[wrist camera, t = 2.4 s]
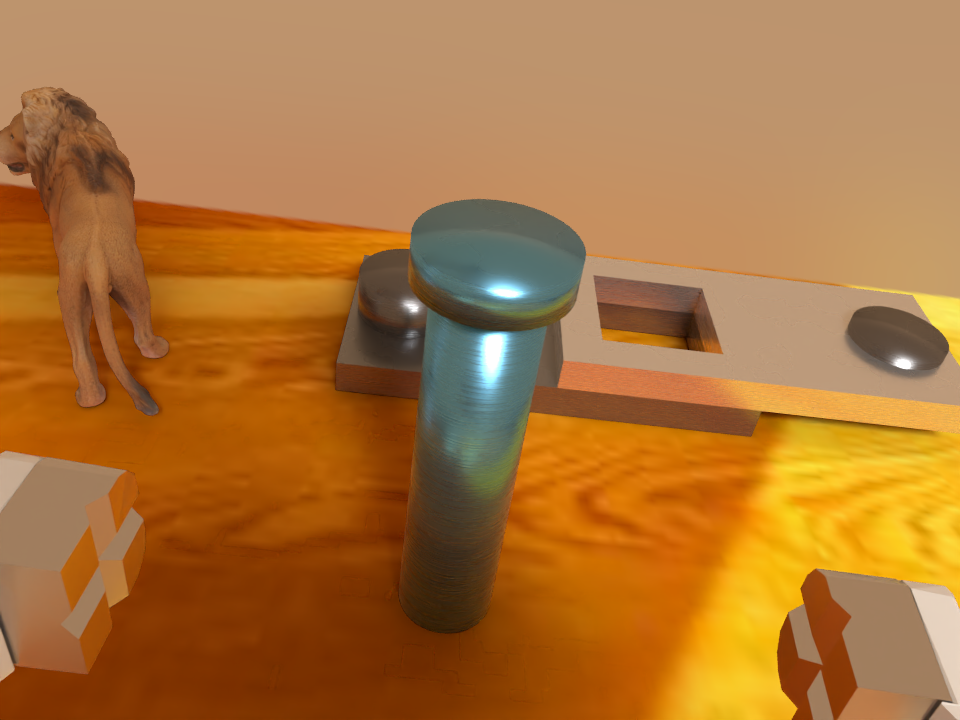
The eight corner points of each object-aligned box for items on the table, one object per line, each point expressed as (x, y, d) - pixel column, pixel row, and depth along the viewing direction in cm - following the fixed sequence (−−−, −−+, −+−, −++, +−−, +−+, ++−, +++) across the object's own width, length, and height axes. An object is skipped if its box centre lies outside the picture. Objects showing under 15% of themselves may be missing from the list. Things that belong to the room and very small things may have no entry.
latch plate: (335, 389, 38) (337, 324, 36) (363, 280, 45) (366, 220, 43) (957, 459, 40) (993, 400, 38) (888, 342, 47) (916, 287, 45)
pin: (354, 599, 30) (374, 238, 21) (433, 525, 33) (478, 183, 24) (458, 673, 28) (524, 311, 20) (531, 588, 31) (617, 243, 23)
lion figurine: (11, 258, 43) (-31, 79, 38) (123, 238, 46) (99, 68, 41) (90, 444, 34) (50, 242, 29) (225, 406, 37) (211, 214, 31)
